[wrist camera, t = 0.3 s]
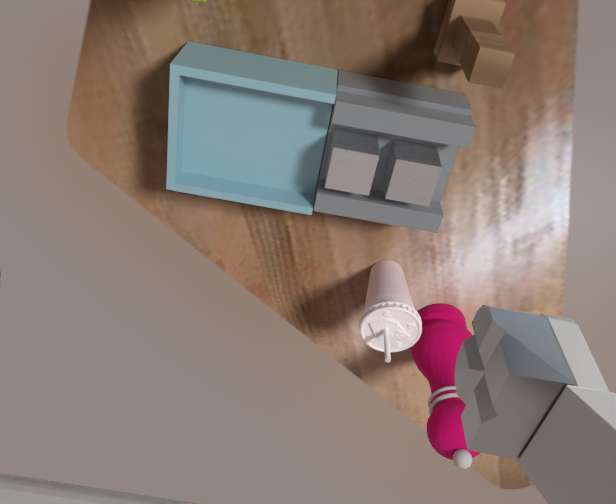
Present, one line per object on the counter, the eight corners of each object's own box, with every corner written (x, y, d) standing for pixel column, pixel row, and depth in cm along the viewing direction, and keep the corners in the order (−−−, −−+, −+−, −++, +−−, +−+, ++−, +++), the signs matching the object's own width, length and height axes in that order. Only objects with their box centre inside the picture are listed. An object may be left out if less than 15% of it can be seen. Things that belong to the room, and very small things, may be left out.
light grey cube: (334, 128, 53) (333, 147, 50) (377, 136, 53) (379, 155, 50) (326, 167, 55) (324, 187, 52) (367, 174, 55) (368, 195, 52)
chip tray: (188, 41, 53) (170, 63, 48) (337, 69, 54) (336, 94, 48) (182, 158, 60) (166, 189, 55) (315, 182, 61) (311, 215, 55)
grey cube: (393, 139, 53) (396, 159, 50) (436, 147, 53) (442, 167, 50) (383, 177, 55) (385, 198, 52) (424, 185, 56) (428, 206, 52)
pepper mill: (423, 351, 74) (443, 496, 57) (398, 313, 70) (412, 456, 54) (478, 331, 71) (515, 477, 55) (454, 291, 68) (486, 434, 52)
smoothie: (374, 242, 65) (379, 328, 53) (425, 263, 66) (440, 352, 54) (348, 282, 68) (348, 372, 57) (397, 301, 69) (406, 392, 58)
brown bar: (452, -15, 49) (477, 22, 39) (498, -6, 49) (534, 33, 39) (433, 51, 52) (451, 100, 42) (476, 59, 52) (504, 110, 43)
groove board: (338, 69, 54) (337, 95, 48) (465, 93, 54) (477, 121, 49) (316, 182, 61) (312, 215, 55) (428, 202, 61) (435, 237, 56)
